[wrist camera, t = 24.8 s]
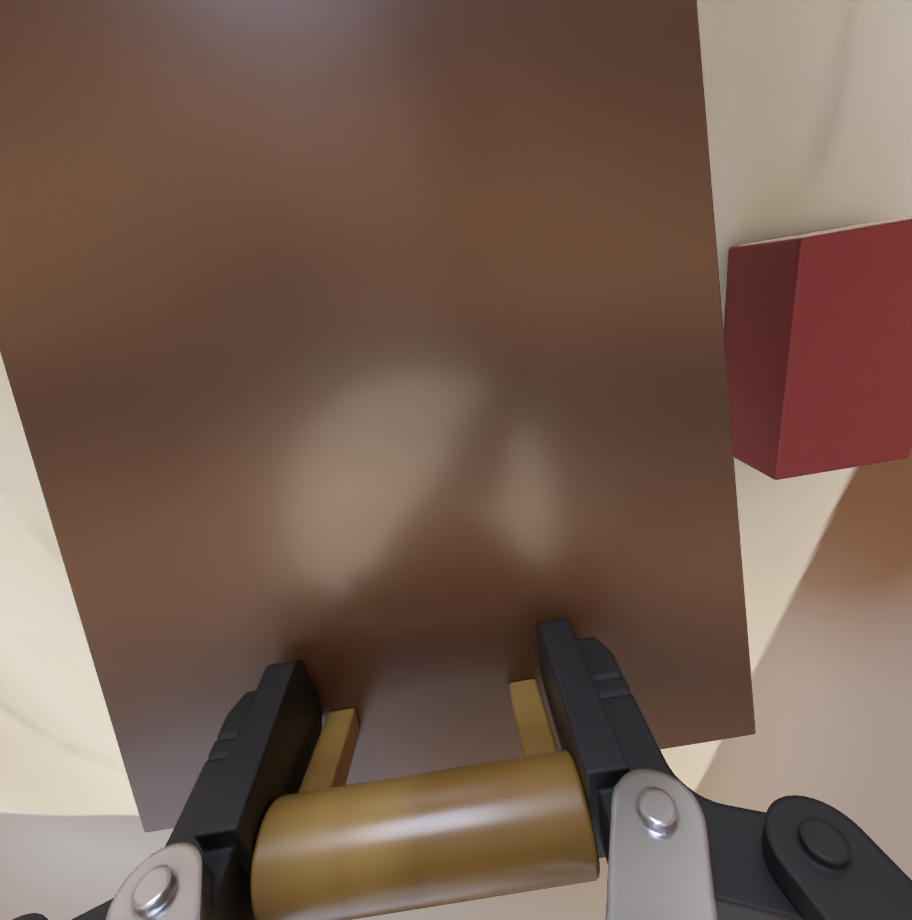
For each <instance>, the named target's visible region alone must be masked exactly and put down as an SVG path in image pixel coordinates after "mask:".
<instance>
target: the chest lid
mask: <svg viewBox="0 0 912 920" xmlns="http://www.w3.org/2000/svg"><path fill="white" fill-rule="evenodd" d="M0 352H1V355H2V359H3V362H4V365H5V369H6V372H7V375H8V379H9V382H10V385H11V389H12V392H13V395H14V399H15V402H16V405H17V409H18V412H19V415H20V419H21V422H22V425H23V429H24V432H25V435H26V439H27V442H28V445H29V449H30V452H31V455H32V459H33V462H34V465H35V469H36V472H37V475H38V479H39V482H40V485H41V489H42V492H43V495H44V499H45V502H46V505H47V509H48V512H49V515H50V518H51V522H52V525H53V528H54V532H55V535H56V538H57V542H58V545H59V548H60V552H61V555H62V558H63V562H64V565H65V568H66V572H67V575H68V578H69V582H70V585H71V588H72V592H73V595H74V598H75V602H76V605H77V608H78V612H79V615H80V618H81V622H82V625H83V628H84V632H85V635H86V638H87V642H88V645H89V648H90V652H91V655H92V658H93V662H94V665H95V668H96V672H97V675H98V678H99V682H100V685H101V688H102V692H103V695H104V698H105V702H106V705H107V708H108V712H109V715H110V718H111V722H112V725H113V728H114V732H115V735H116V738H117V742H118V745H119V748H120V752H121V755H122V758H123V762H124V765H125V768H126V772H127V775H128V778H129V782H130V785H131V788H132V792H133V795H134V798H135V802H136V805H137V808H138V812H139V815H140V818H141V822H142V825H143V828H144V831H145V832H151V831H157V830H163V829H170V828H174V827H175V825H176V823H177V821H178V819H179V817H180V815H181V813H182V810H183V808H184V806H185V804H186V802H187V800H188V798H189V796H190V793H191V791H192V789H193V787H194V785H195V783H196V781H197V778H198V776H199V774H200V772H201V770H202V768H203V766H204V764H205V762H206V761H208V755H209V753H210V751H211V749H212V747H213V744H214V742H215V741H217V736H218V734H219V732H220V730H221V727H222V725H223V723H224V721H225V719H226V717H227V715H228V713H229V712H230V711H231V709H232V708H233V707H234V706H235V705H236V704H237V702H238V701H239V700H240V699H241V698H242V697H243V695H244V694H245V693H246V692H251V691H256V690H257V687H258V685H259V683H260V680H261V678H262V676H263V673H264V671H265V669H266V668H267V666H268V665H270V664H276V663H282V662H288V661H294V660H303V661H304V662H305V664H306V667H307V669H308V672H309V675H310V677H311V680H312V683H313V686H314V688H315V691H316V694H317V696H318V699H319V702H320V706H321V710H322V730H321V734H320V736H319V739H318V742H317V744H316V747H315V749H314V752H313V755H312V757H311V760H310V762H309V765H308V768H307V770H306V773H305V776H304V778H303V781H302V783H301V786H300V789H299V791H298V793H295V794H289V795H283V796H280V797H278V798H277V799H275V800H274V801H273V802H272V803H271V805H270V806H269V808H268V809H267V811H266V813H265V815H264V817H263V820H262V822H261V825H260V828H259V831H258V835H257V839H256V843H255V848H254V854H253V861H252V869H251V904H252V910H253V915H254V918H255V920H351V919H358V918H364V917H370V916H377V915H382V914H389V913H395V912H402V911H408V910H414V909H420V908H427V907H433V906H439V905H446V904H452V903H458V902H464V901H471V900H477V899H483V898H489V897H495V896H502V895H508V894H514V893H521V892H527V891H533V890H539V889H546V888H551V887H558V886H565V885H571V884H577V883H583V882H589V881H595V880H596V879H597V878H599V872H600V866H599V856H598V849H597V844H596V838H595V833H594V829H593V824H592V820H591V815H590V811H589V807H588V804H587V800H586V796H585V792H584V789H583V785H582V782H581V779H580V775H579V772H578V769H577V766H576V764H575V761H574V759H573V757H572V755H571V754H570V752H569V751H566V750H561V747H560V743H559V739H558V736H557V732H556V729H555V725H554V722H553V718H552V714H551V711H550V707H549V704H548V700H547V697H546V692H545V688H544V683H543V678H542V672H541V665H540V656H539V647H538V638H537V630H536V622H539V621H545V620H551V619H557V618H563V617H567V618H568V620H569V622H570V624H571V627H572V629H573V632H574V634H575V636H576V639H583V638H589V637H596V638H597V639H598V640H599V641H600V642H601V643H602V644H603V645H604V646H606V647H607V648H608V649H609V650H610V651H611V652H612V653H613V655H614V657H615V659H616V661H617V663H618V665H619V667H620V670H621V672H622V675H623V677H624V678H625V680H626V682H627V684H628V686H629V688H630V691H631V694H633V696H634V698H635V700H636V702H637V704H638V706H639V708H640V710H641V712H642V714H643V716H644V718H645V720H646V722H647V724H648V726H649V728H650V730H651V732H652V735H653V737H654V739H655V741H656V743H657V745H658V747H659V749H665V748H671V747H677V746H684V745H690V744H696V743H702V742H708V741H715V740H721V739H727V738H733V737H739V736H746V735H751V734H755V720H754V708H753V697H752V696H753V695H752V683H751V671H750V658H749V646H748V633H747V621H746V608H745V596H744V584H743V571H742V559H741V546H740V534H739V521H738V509H737V497H736V484H735V472H734V459H733V447H732V434H731V422H730V410H729V397H728V385H727V372H726V360H725V347H724V335H723V323H722V310H721V298H720V285H719V273H718V260H717V248H716V236H715V223H714V211H713V198H712V186H711V174H710V161H709V149H708V136H707V124H706V111H705V99H704V87H703V74H702V62H701V49H700V37H699V24H698V12H697V0H0Z"/></svg>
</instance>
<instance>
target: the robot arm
mask: <svg viewBox="0 0 912 920" xmlns="http://www.w3.org/2000/svg"><path fill="white" fill-rule="evenodd" d="M536 630H537V638H538V647H539V656H540V665H541V672H542V678H543V683H544V688H545V692H546V697H547V700H548V704H549V707H550V711H551V714H552V718H553V722H554V725H555V729H556V732H557V736H558V739H559V743H560V747H561V750H566V751H569V752H570V754H571V755H572V757H573V759H574V761H575V764H576V766H577V769H578V772H579V775H580V779H581V782H582V785H583V789H584V792H585V796H586V800H587V804H588V807H589V811H590V815H591V820H592V824H593V829H594V833H595V838H596V844H597V849H598V856H599V858H602V857H606V859H607V863H608V883H607V903H606V920H912V880H911V879H910V878H909V877H908V876H907V875H906V874H905V873H904V872H903V871H902V870H901V869H900V868H899V867H898V866H897V865H896V864H895V863H894V862H893V861H892V860H891V859H890V858H889V857H888V856H887V855H886V854H885V853H884V852H883V851H882V850H881V849H880V848H879V847H878V846H877V845H876V844H875V842H873V840H872V839H871V838H870V837H869V836H868V835H867V834H866V833H865V832H864V831H863V830H862V829H861V828H860V827H859V826H858V825H856V824H855V823H854V822H853V821H852V820H851V819H849V818H848V817H847V816H845V815H844V814H843V813H841V812H840V811H838V810H837V809H835V808H833V807H831V806H830V805H828V804H825V803H824V802H821V801H818V800H815V799H813V798H808V797H805V796H796V795H794V796H785V797H782V798H779V799H777V800H776V801H774V802H773V803H772V804H771V805H770V807H769V808H768V810H767V812H766V813H765V812H760V811H754V810H749V809H744V808H739V807H734V806H728V805H724V804H720V803H716V802H713V801H711V800H708V799H706V798H704V797H702V796H700V795H698V794H697V793H695V792H694V791H692V790H691V789H689V788H688V787H687V786H686V785H685V784H683V783H682V782H681V781H680V780H679V779H678V778H677V777H676V776H675V774H674V773H673V772H672V770H671V769H670V768H669V766H668V764H667V763H666V761H665V759H664V757H663V755H662V753H661V751H660V749H659V747H658V745H657V743H656V741H655V739H654V737H653V735H652V732H651V730H650V728H649V726H648V724H647V722H646V720H645V718H644V716H643V714H642V712H641V710H640V708H639V706H638V704H637V702H636V700H635V698H634V696H633V694H631V691H630V688H629V686H628V684H627V682H626V680H625V678H624V677H623V675H622V672H621V670H620V667H619V665H618V663H617V661H616V659H615V657H614V655H613V653H612V652H611V651H610V650H609V649H608V648H607V647H606V646H604V645H603V644H602V643H601V642H600V641H599V640H598V639H597V638H596V637H589V638H583V639H576V636H575V634H574V632H573V629H572V627H571V624H570V622H569V620H568V618H567V617H563V618H557V619H551V620H545V621H539V622H536ZM321 730H322V710H321V706H320V702H319V699H318V696H317V694H316V691H315V688H314V686H313V683H312V680H311V677H310V675H309V672H308V669H307V667H306V664H305V662H304V661H303V660H294V661H288V662H282V663H276V664H270V665H268V666H267V668H266V669H265V671H264V673H263V676H262V678H261V680H260V683H259V685H258V687H257V690H256V691H251V692H246V693H245V694H244V695H243V697H242V698H241V699H240V700H239V701H238V702H237V704H236V705H235V706H234V707H233V708H232V709H231V711H230V712H229V713H228V715H227V717H226V719H225V721H224V723H223V725H222V727H221V730H220V732H219V734H218V736H217V741H215V742H214V744H213V747H212V749H211V751H210V753H209V755H208V761H206V762H205V764H204V766H203V768H202V770H201V772H200V774H199V776H198V778H197V781H196V783H195V785H194V787H193V789H192V791H191V793H190V796H189V798H188V800H187V802H186V804H185V806H184V808H183V810H182V813H181V815H180V817H179V819H178V821H177V823H176V825H175V827H174V830H173V832H172V834H171V836H170V838H169V840H168V842H167V844H166V846H165V847H164V848H162V849H160V850H158V851H157V852H155V853H153V854H152V855H151V856H149V857H148V858H147V859H145V860H144V861H143V862H142V863H141V864H140V865H139V866H138V867H136V869H135V870H134V871H133V872H132V873H131V874H130V875H129V877H128V878H127V879H126V880H125V881H124V883H123V884H122V886H121V887H120V889H119V890H118V892H117V894H116V895H115V897H114V898H113V899H111V900H109V901H107V902H105V903H103V904H101V905H99V906H97V907H95V908H93V909H92V910H90V911H88V912H86V913H84V914H82V915H80V916H78V917H76V918H74V919H72V920H255V918H254V915H253V910H252V904H251V869H252V861H253V854H254V848H255V843H256V839H257V835H258V831H259V828H260V825H261V822H262V820H263V817H264V815H265V813H266V811H267V809H268V808H269V806H270V805H271V803H272V802H273V801H274V800H275V799H277V798H278V797H280V796H283V795H289V794H295V793H298V791H299V789H300V786H301V783H302V781H303V778H304V776H305V773H306V770H307V768H308V765H309V762H310V760H311V757H312V755H313V752H314V749H315V747H316V744H317V742H318V739H319V736H320V734H321ZM13 920H48V919H47V918H46V917H45V916H43V915H42V914H37V913H32V914H26V915H22V916H20V917H18V918H15V919H13Z"/></svg>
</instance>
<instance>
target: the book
mask: <svg viewBox="0 0 912 920" xmlns="http://www.w3.org/2000/svg"><path fill="white" fill-rule="evenodd" d="M724 347H725V360H726V372H727V385H728V397H729V410H730V422H731V434H732V447H733V457H735V458H737V459H739V460H740V461H742V462H744V463H746V464H748V465H749V466H751V467H753V468H755V469H756V470H758V471H760V472H762V473H764V474H765V475H767V476H769V477H771V478H773V479H775V480H778V479H784V478H790V477H796V476H802V475H808V474H814V473H820V472H826V471H832V470H838V469H844V468H850V467H856V466H862V465H868V464H873V463H880V462H886V461H892V460H898V459H903V458H908V456H909V452H910V448H911V443H912V216H911V217H905V218H898V219H891V220H884V221H878V222H871V223H864V224H858V225H852V226H846V227H840V228H834V229H829V230H823V231H817V232H811V233H805V234H799V235H793V236H788V237H782V238H776V239H770V240H764V241H758V242H752V243H746V244H741V245H738V246H736V247H731V248H729V254H728V272H727V290H726V308H725V326H724Z"/></svg>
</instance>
